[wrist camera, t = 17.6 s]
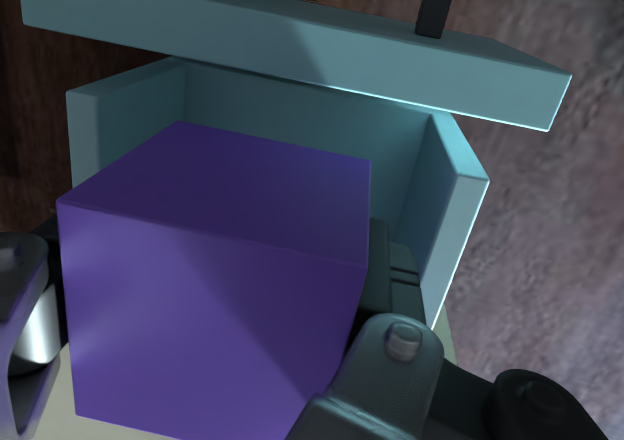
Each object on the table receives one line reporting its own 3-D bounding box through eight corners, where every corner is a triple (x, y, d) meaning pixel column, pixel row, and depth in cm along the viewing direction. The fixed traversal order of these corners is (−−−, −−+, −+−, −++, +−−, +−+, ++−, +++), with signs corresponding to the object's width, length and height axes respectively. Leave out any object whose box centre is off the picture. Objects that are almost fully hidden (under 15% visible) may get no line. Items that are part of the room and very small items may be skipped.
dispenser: (150, 186, 20) (9, 310, 12) (433, 246, 20) (470, 413, 12) (148, 375, 26) (49, 544, 18) (371, 425, 25) (368, 621, 17)
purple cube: (176, 119, 10) (54, 198, 6) (371, 160, 10) (368, 266, 6) (170, 280, 13) (74, 416, 9) (332, 316, 12) (312, 472, 8)
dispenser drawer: (162, -263, 13) (-37, -495, 7) (569, -188, 13) (759, -361, 6) (154, 238, 20) (57, 347, 14) (408, 293, 20) (422, 429, 14)
